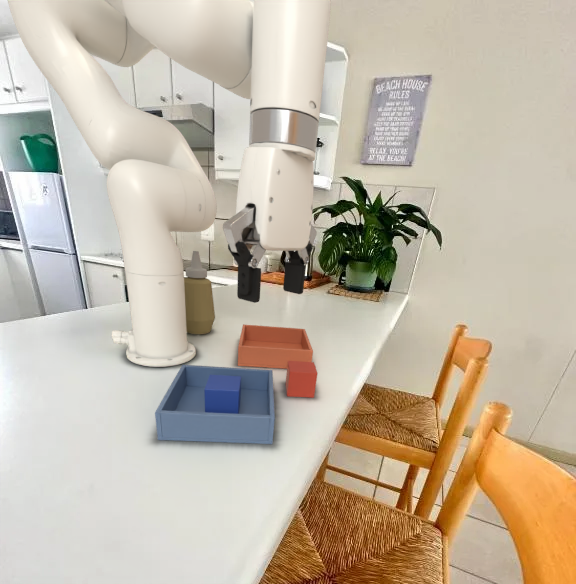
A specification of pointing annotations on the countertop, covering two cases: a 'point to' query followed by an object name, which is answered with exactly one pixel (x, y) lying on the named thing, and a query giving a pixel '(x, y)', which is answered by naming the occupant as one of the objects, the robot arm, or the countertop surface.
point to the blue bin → (217, 426)
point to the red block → (301, 379)
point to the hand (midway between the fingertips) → (272, 295)
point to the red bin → (273, 346)
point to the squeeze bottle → (198, 298)
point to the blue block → (223, 394)
